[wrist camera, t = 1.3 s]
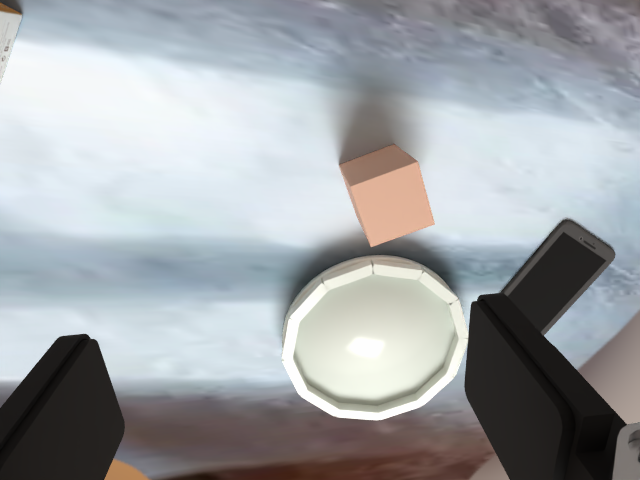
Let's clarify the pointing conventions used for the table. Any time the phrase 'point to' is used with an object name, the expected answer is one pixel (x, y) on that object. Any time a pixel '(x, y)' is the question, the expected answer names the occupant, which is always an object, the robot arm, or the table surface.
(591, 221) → the table surface
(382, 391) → the dish
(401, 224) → the block
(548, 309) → the cell phone
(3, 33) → the small box
